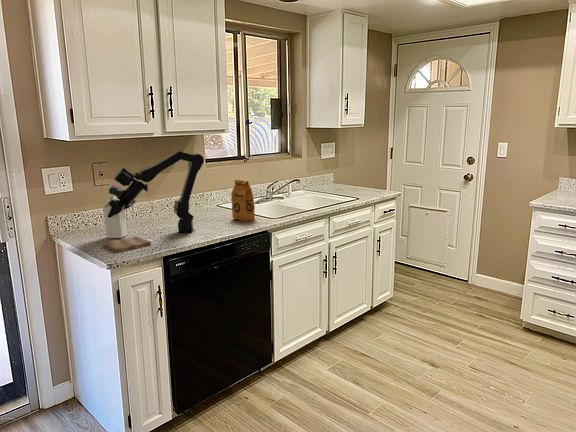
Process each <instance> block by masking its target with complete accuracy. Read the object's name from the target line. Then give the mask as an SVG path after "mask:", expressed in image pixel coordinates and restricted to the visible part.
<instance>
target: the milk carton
mask: <svg viewBox="0 0 576 432" xmlns="http://www.w3.org/2000/svg"><path fill="white" fill-rule="evenodd" d="M113 199H117V200H119V199H118V198H117V196H115V195H113V196H112V197H110V198H109V199H107V200H106V201H105V203H106V204H104V206H103V207H102V210H103V218H104V225H105V234H106V239H120V238H121V239H123V237H125V236H126V235H127V234H128V231H127V222H126V215H125V210H123V211H122V212H120V213H118V214H116V215H114V216H112V217H110V218H109V217H108V214H109V212H110V210H111V206H110V205H109V202H110V201H111V200H113Z"/></svg>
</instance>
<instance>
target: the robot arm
mask: <svg viewBox="0 0 576 432" xmlns="http://www.w3.org/2000/svg"><path fill="white" fill-rule="evenodd" d="M180 160H181V161H185V162H188V163H187V166H188V167H187V168H188V169H187V170H188V171H187V173H186V174H187V175H186V178H185V180H184V184H183V187H182V191H181V194H180V197H179V199H178V200H174V204H173V207H172V209H173V213H174V214H175V215H176V216H177V217H178V218H179V219H178V222H177V231H178V233H179V234H183V233H184V234H187V233H188V234H190V233H191V234H192V233H193V232H194V231H195V228H194V220H193V219H194V215H193V214H191V213H190V212H189V211H190V198H191V195H192V191H193V189H194V184H195V182H196V178H197V174H198V173H199V172H200V170H201V168H202V166H203V165H204V161H205V159H204V157H203V155H202V154H200V153H196V152H195V153H192V154H191V153H187V152H183V151H182V150H176V151H175V152H174V153H172V154H171V155H168V156H167V157H166V158H164V159H162V160H160V161H158V162H157V163H155V164H153V165H150V166H147V167H144V168H142V169H140V170H139V172H135V173H131V172H130V171H128V170H127V169H126V168H125V167H122V168H121V169H120V170H119V171H118V172H117V173H116V174H115V175H114V177H113V180H114V181H116V182H117V183H119V184H120V185H122V186H123V187H125V186H126V187H127V188H125V189H124V188H122V187H120V186H117V185H112V186H110V187H109V189H108V193H109V195H113V196H115V197H116V198H117V199H118V200H117V199H113V200H111V201H110V202H109V205H110V206H111V210H110V212H109V214H108V217H109V218H110V217H112V216H114V215H116V214H118V213H120V212H122V211H123V210H124V211H126V210H127V209H129V208H131V207H132V206H134V205H135V204H136V199H137V198H138V196H139V195H140V194H141V193H142V192H143V190H144V191H145V192H149V184H148V183H150V182H152V180H154V179H155V178H156V177H157V176H158V175H159V174H160V173H161V172H162V171H165V170H166V169H167V168H169V167H171V166H172V165H175V164H176V163H177V162H179V161H180Z"/></svg>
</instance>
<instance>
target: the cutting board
mask: <svg viewBox="0 0 576 432" xmlns="http://www.w3.org/2000/svg"><path fill="white" fill-rule="evenodd" d="M151 245H152V242H151V241H150V240H146V238H145V239H144V238H142V237H139V236H137V235H135V236H131V237H125V238H121V239H120V238H119V239H116V240H111V241H106V242H101V246H102V247H103V248H104V247H105V249H106V250H109V251H111V252H113V253H114V254H115V253H116V254H118V253H122V252H126V251H130V250H135V249H138V248H139V249H140V248H144V247H148V246H151Z"/></svg>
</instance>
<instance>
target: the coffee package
mask: <svg viewBox="0 0 576 432" xmlns="http://www.w3.org/2000/svg"><path fill="white" fill-rule="evenodd" d="M233 182H234V185H233V188H232V191H231V193H230V195H231V213H232V219H235V220H239V221H242V222H245V223H246V222H251V221H255V201H254V200H255V199H254V195H253V191H252V189H251V186H250V182H249V181H248V180H241V179H234V181H233Z"/></svg>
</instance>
